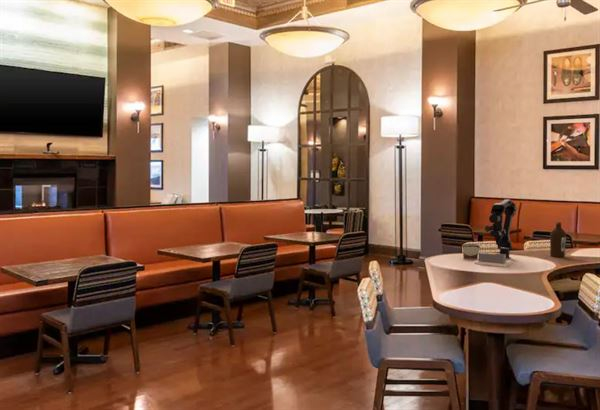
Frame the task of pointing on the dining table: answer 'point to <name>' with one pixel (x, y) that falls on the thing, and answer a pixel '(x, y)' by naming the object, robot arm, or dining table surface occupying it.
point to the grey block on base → (493, 259)
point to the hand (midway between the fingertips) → (497, 244)
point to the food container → (470, 251)
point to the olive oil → (557, 241)
